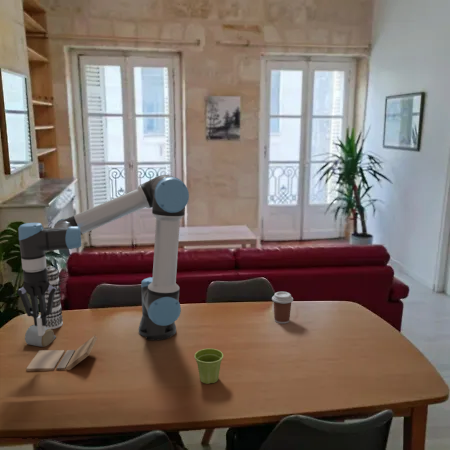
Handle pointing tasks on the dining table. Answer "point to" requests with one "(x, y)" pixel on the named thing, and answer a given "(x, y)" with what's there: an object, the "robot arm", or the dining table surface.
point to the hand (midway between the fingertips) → (41, 334)
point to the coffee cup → (282, 306)
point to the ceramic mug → (36, 340)
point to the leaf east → (45, 360)
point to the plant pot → (209, 364)
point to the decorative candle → (55, 316)
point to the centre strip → (65, 360)
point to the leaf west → (81, 352)
